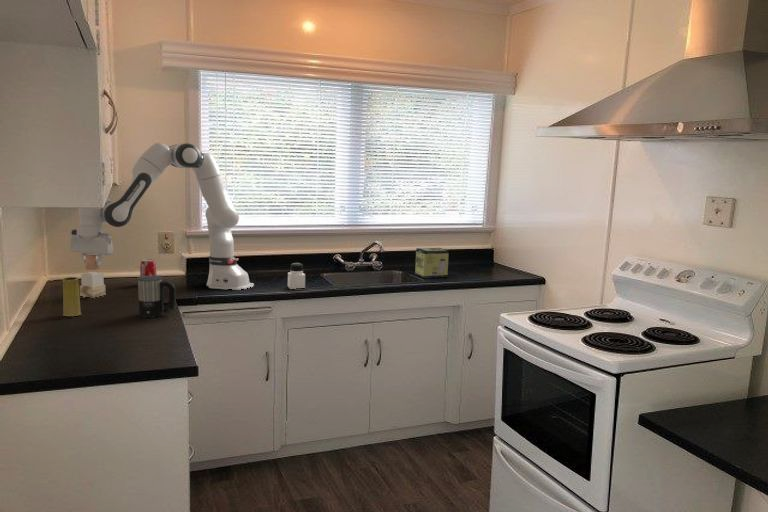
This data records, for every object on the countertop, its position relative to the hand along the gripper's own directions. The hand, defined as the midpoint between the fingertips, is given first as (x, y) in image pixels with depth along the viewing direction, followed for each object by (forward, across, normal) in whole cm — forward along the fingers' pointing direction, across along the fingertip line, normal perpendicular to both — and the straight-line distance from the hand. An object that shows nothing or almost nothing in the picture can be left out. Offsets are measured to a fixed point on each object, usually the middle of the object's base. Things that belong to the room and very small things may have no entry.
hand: (92, 263), depth 252 cm
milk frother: (+14, -41, +10) cm, 45 cm away
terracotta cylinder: (+2, 0, 0) cm, 2 cm away
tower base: (+14, 0, 0) cm, 14 cm away
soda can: (+14, -4, -29) cm, 33 cm away
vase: (+14, -18, +28) cm, 36 cm away
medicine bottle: (+14, -67, -58) cm, 90 cm away
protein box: (+14, -117, -123) cm, 170 cm away
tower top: (+9, 0, 0) cm, 9 cm away
